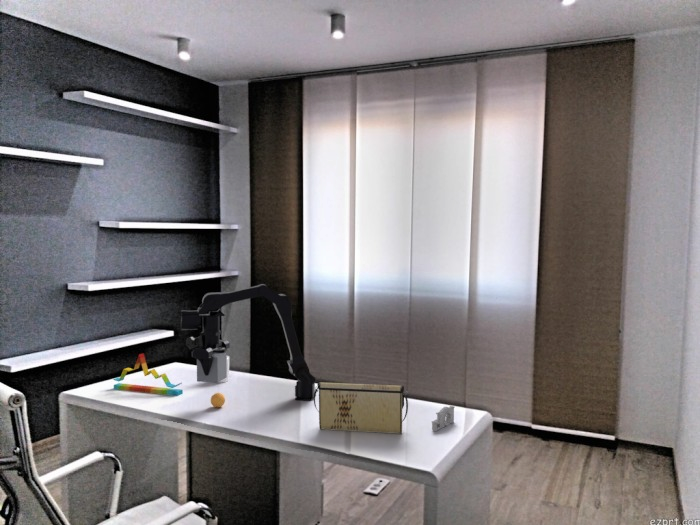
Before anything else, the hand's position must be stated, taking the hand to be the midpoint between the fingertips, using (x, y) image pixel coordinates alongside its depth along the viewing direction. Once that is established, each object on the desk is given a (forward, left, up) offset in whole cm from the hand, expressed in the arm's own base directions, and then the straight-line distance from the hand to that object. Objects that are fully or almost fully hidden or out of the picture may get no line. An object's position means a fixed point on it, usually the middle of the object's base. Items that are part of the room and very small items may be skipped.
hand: (211, 372), depth 202 cm
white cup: (+12, -34, -13) cm, 38 cm away
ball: (-2, 0, -10) cm, 10 cm away
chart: (+34, -15, -13) cm, 39 cm away
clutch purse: (-56, +13, -13) cm, 59 cm away
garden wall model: (-81, +6, -13) cm, 82 cm away
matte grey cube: (0, 0, -2) cm, 2 cm away
